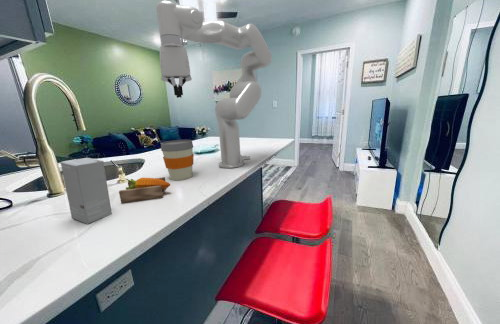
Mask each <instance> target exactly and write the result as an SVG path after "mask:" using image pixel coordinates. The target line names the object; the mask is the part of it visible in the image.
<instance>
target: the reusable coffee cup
mask: <svg viewBox="0 0 500 324" xmlns="http://www.w3.org/2000/svg"><path fill="white" fill-rule="evenodd" d="M193 148H194V144H193V141H192V139H175V140H174V139H173V140H168V141H167V140H166V141H163V142H161V143H160V151H161V153H162V154H163V157H162V158H163V162H164V165H165V169H167V172H168V175H169V178H170V180H172V181H183V180H187V179H190V178H192V177H193V165H194V153H193V152H194V151H193Z"/></svg>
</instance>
